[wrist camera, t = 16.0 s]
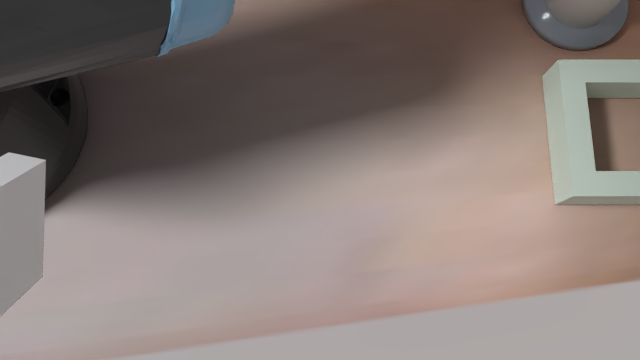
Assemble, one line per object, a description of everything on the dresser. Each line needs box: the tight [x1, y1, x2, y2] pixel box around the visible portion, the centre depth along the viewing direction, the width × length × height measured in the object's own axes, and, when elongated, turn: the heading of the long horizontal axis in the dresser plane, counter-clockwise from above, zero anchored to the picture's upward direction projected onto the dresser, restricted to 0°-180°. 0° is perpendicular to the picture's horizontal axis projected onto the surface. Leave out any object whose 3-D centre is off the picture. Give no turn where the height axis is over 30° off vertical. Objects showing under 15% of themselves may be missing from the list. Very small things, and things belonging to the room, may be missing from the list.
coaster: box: [523, 0, 629, 51], centre depth 45 cm, size 8×8×1 cm
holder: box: [542, 60, 640, 205], centre depth 41 cm, size 10×10×3 cm
